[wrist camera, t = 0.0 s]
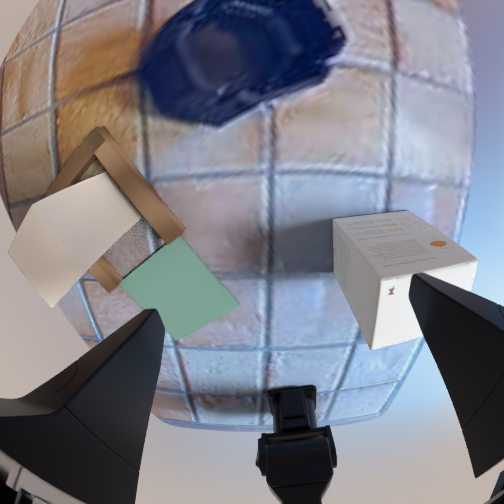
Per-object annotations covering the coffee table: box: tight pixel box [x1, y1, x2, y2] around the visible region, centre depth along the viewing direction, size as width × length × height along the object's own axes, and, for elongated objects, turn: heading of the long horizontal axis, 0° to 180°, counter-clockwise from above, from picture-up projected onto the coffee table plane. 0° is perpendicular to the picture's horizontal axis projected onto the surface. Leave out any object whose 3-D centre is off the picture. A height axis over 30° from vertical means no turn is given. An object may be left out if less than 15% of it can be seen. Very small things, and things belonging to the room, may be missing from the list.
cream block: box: [8, 172, 142, 308], centre depth 18 cm, size 6×6×10 cm
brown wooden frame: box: [43, 126, 186, 293], centre depth 22 cm, size 12×11×2 cm
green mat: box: [119, 236, 240, 340], centre depth 26 cm, size 9×9×1 cm
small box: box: [332, 210, 478, 350], centre depth 19 cm, size 8×6×10 cm
